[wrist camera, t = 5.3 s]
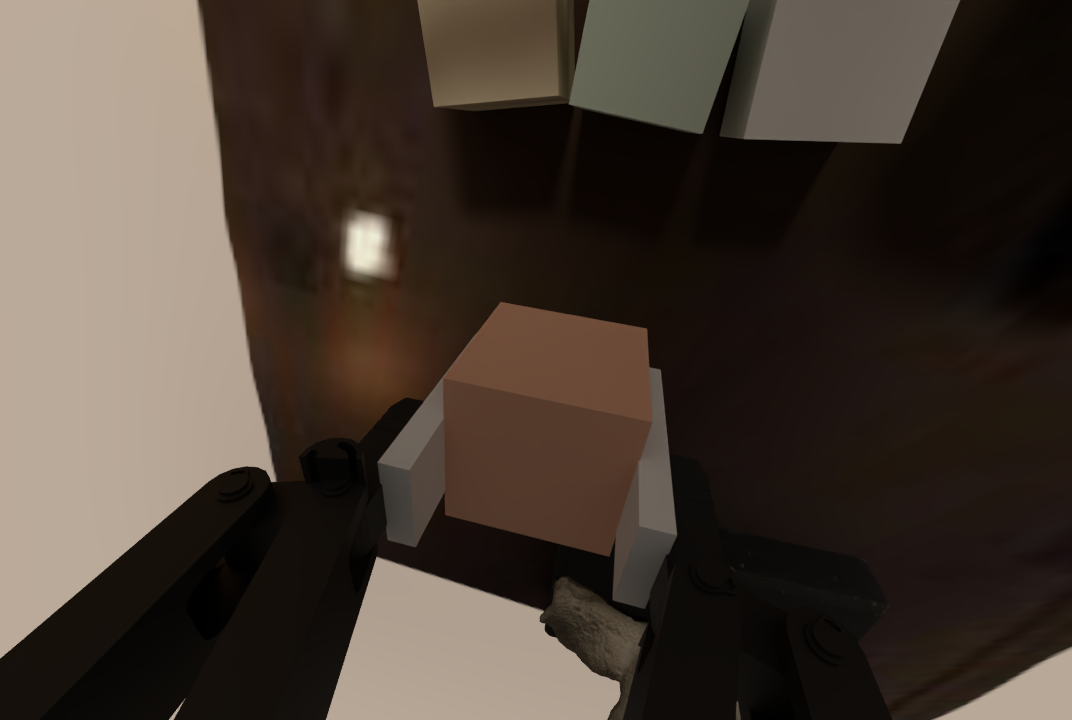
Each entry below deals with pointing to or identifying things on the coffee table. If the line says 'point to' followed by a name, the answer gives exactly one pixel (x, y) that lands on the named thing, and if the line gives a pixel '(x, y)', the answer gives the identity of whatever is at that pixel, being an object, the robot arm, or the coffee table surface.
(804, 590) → the coral
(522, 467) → the terracotta cube
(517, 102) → the maple cube
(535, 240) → the coffee table surface
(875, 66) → the offwhite cube
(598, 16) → the sage cube
